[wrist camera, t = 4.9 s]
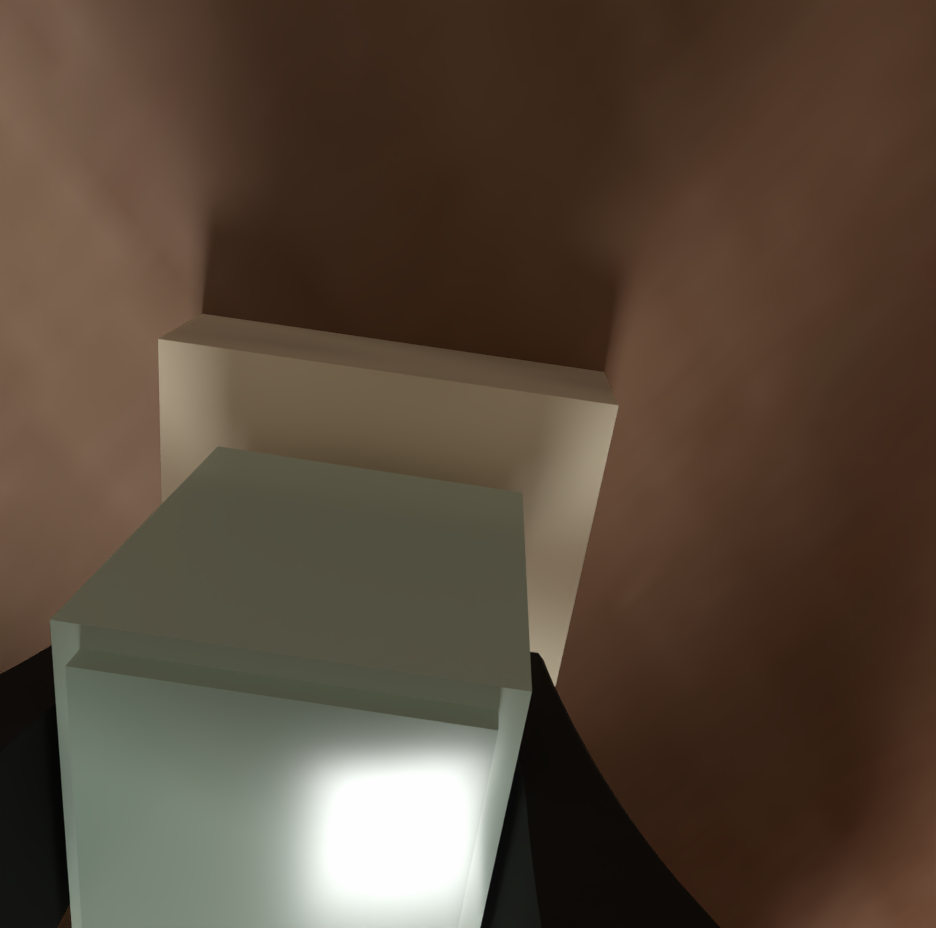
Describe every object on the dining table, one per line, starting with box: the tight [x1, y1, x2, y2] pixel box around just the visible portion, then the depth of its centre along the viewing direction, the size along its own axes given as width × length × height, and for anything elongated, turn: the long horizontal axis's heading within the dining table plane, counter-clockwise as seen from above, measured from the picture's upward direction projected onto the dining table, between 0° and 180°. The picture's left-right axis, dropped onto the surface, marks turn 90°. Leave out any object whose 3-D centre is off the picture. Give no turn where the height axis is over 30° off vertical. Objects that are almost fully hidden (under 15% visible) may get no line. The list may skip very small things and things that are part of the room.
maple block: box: [158, 314, 619, 686], centre depth 16 cm, size 8×8×2 cm
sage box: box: [50, 446, 532, 928], centre depth 11 cm, size 5×5×5 cm
